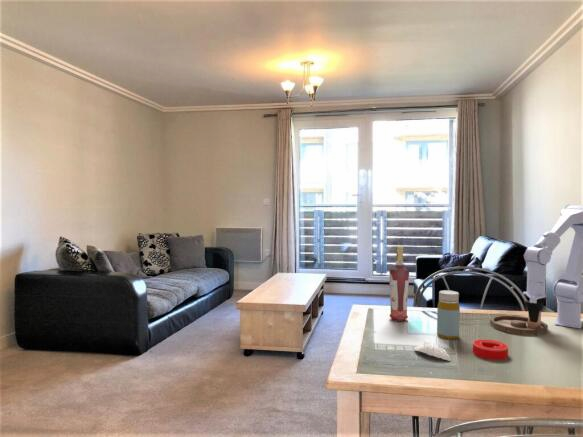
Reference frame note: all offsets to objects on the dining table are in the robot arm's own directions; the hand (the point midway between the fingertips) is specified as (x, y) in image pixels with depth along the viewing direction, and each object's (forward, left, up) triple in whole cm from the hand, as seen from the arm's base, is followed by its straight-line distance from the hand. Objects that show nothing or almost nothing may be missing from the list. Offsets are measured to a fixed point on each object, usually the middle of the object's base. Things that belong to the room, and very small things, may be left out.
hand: (535, 319), depth 156 cm
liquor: (+17, -44, -4) cm, 47 cm away
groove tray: (0, -5, -4) cm, 6 cm away
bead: (0, 0, -3) cm, 3 cm away
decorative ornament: (+35, -8, -4) cm, 36 cm away
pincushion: (+46, -22, -4) cm, 51 cm away
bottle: (+26, -23, -4) cm, 34 cm away
